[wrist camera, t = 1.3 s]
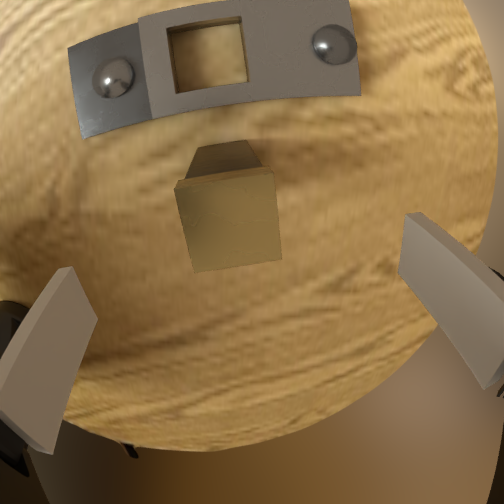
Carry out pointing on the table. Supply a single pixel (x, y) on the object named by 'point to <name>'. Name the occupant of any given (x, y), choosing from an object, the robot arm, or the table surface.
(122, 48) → the plate
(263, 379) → the table surface
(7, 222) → the table surface
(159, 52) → the plate
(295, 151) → the table surface
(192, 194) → the link pin
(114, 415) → the table surface
